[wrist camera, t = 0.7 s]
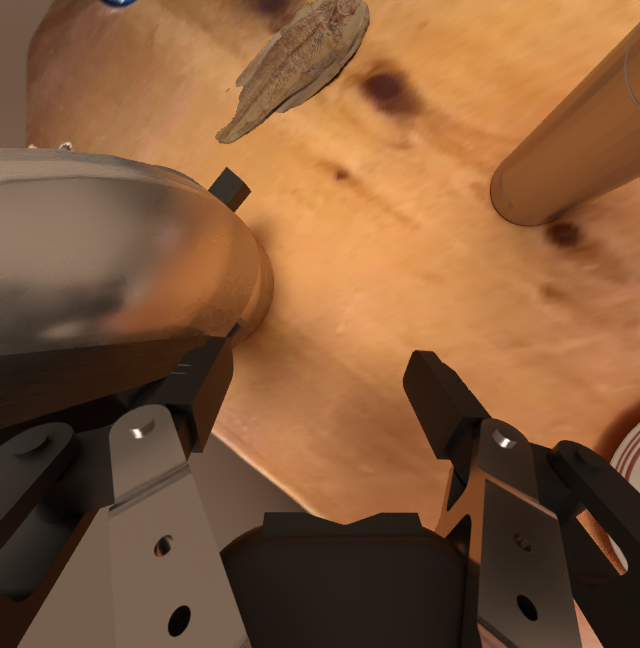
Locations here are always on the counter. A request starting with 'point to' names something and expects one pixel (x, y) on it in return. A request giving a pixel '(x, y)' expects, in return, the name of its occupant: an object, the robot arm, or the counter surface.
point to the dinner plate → (627, 471)
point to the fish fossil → (297, 62)
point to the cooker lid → (107, 283)
